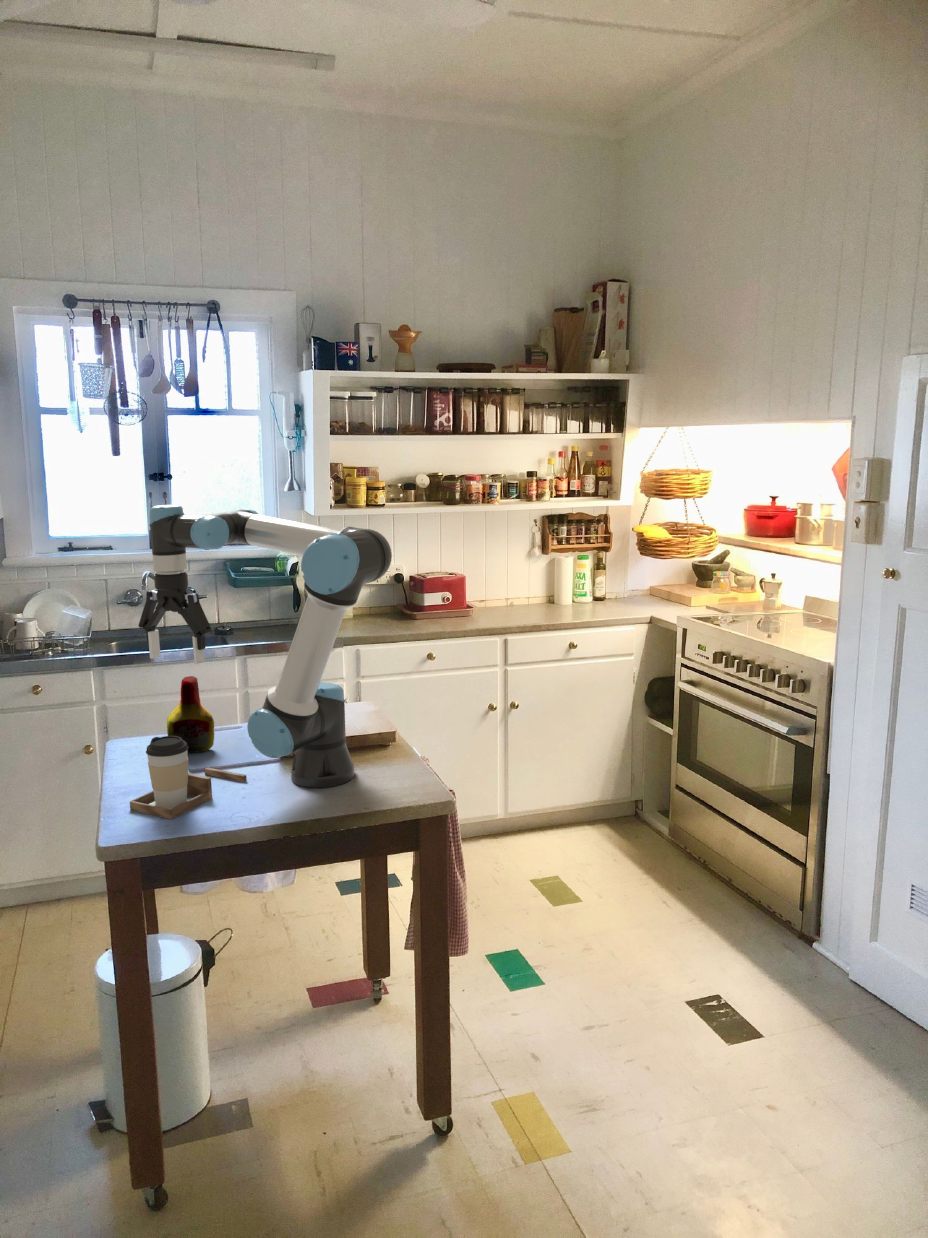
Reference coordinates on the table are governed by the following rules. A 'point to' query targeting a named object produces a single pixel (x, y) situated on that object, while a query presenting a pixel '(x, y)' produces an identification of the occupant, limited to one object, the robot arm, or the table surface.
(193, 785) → the tray
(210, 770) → the rail
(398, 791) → the table surface
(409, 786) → the table surface
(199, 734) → the bottle
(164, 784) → the coffee cup
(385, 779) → the table surface
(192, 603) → the robot arm
